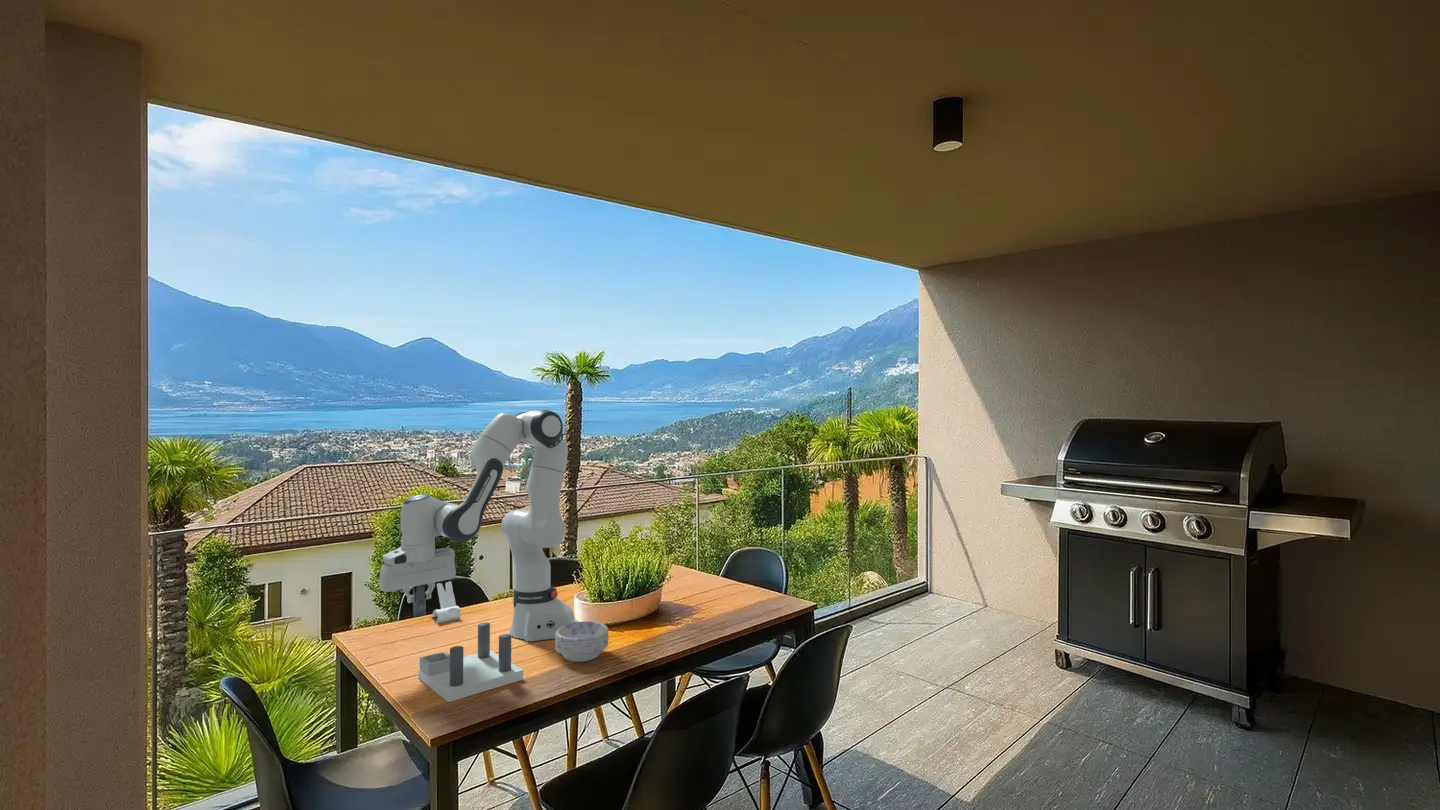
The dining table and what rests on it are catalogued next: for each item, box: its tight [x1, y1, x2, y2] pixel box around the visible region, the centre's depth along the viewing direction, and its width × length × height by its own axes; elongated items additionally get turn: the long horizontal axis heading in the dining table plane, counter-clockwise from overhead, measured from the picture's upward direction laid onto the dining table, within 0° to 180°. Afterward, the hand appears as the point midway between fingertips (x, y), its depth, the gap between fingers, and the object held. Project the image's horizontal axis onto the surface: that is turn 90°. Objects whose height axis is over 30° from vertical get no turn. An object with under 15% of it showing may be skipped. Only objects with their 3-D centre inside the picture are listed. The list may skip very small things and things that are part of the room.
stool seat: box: [418, 622, 524, 703], centre depth 177 cm, size 20×20×12 cm
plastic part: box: [428, 580, 462, 625], centre depth 227 cm, size 8×10×12 cm
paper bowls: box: [554, 620, 609, 663], centre depth 193 cm, size 15×15×8 cm
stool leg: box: [412, 584, 427, 618], centre depth 189 cm, size 3×3×9 cm
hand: (419, 600), depth 189 cm, fingers closed on stool leg, 3 cm apart
